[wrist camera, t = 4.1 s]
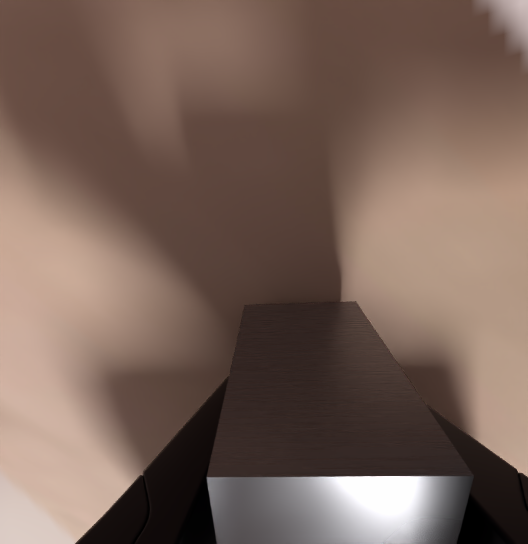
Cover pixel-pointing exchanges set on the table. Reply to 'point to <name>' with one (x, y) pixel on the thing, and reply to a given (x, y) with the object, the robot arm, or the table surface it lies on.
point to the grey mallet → (328, 438)
